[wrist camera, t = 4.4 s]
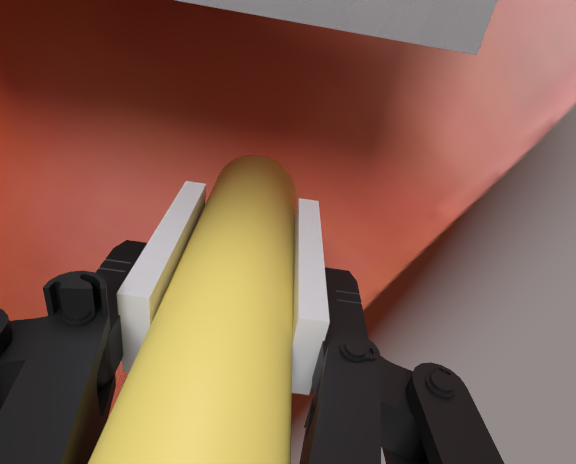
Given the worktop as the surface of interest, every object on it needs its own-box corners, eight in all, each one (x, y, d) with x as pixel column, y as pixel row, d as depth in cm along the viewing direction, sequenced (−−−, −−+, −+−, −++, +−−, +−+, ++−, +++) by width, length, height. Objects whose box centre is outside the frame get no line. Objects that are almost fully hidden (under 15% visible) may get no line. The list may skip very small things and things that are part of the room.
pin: (288, 233, 19) (269, 655, 7) (213, 222, 19) (53, 636, 7) (302, 162, 17) (308, 566, 5) (218, 149, 17) (9, 535, 5)
